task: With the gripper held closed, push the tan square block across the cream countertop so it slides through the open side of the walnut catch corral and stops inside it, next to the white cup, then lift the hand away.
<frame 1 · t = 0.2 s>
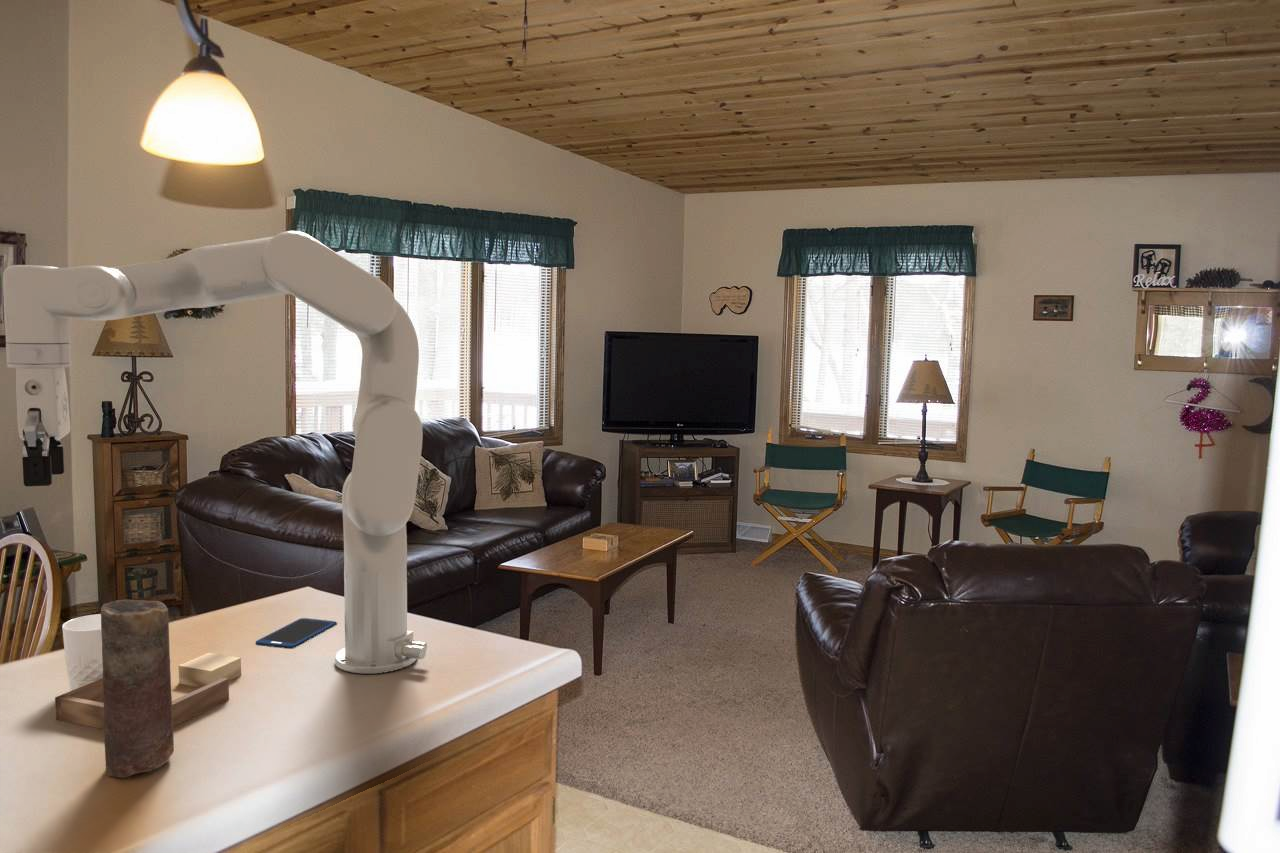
hand: (44, 479, 134), 31 cm above the kitchen counter, tool pointing down, fingers open, 9 cm apart
tan square block: (210, 681, 144), on the kitchen counter
cell phone: (297, 636, 165), on the kitchen counter
corral: (145, 708, 133), on the kitchen counter
white cup: (97, 690, 139), on the kitchen counter
candle: (140, 767, 116), on the kitchen counter
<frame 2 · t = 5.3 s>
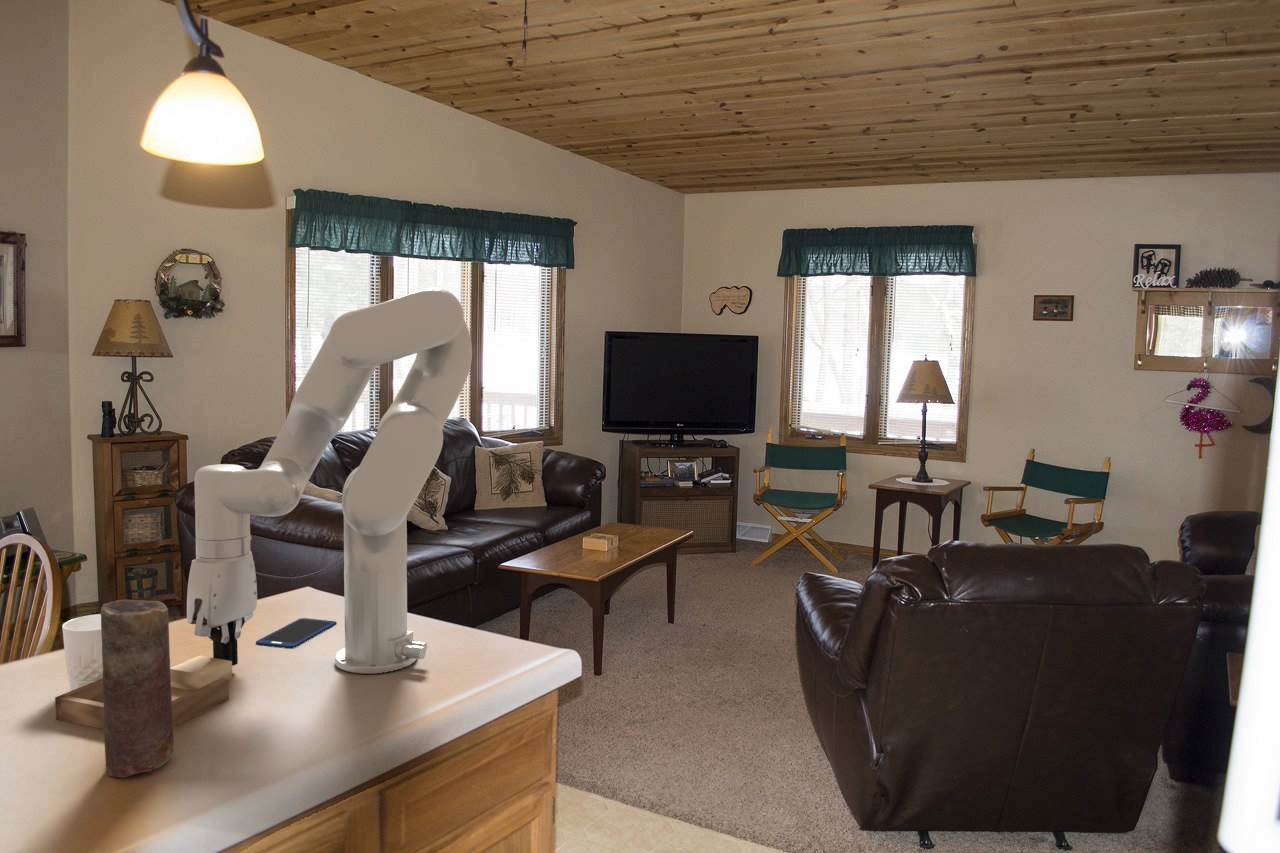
hand: (225, 664, 147), 1 cm above the kitchen counter, tool pointing down, fingers closed
tan square block: (201, 684, 143), on the kitchen counter
everything else where it was.
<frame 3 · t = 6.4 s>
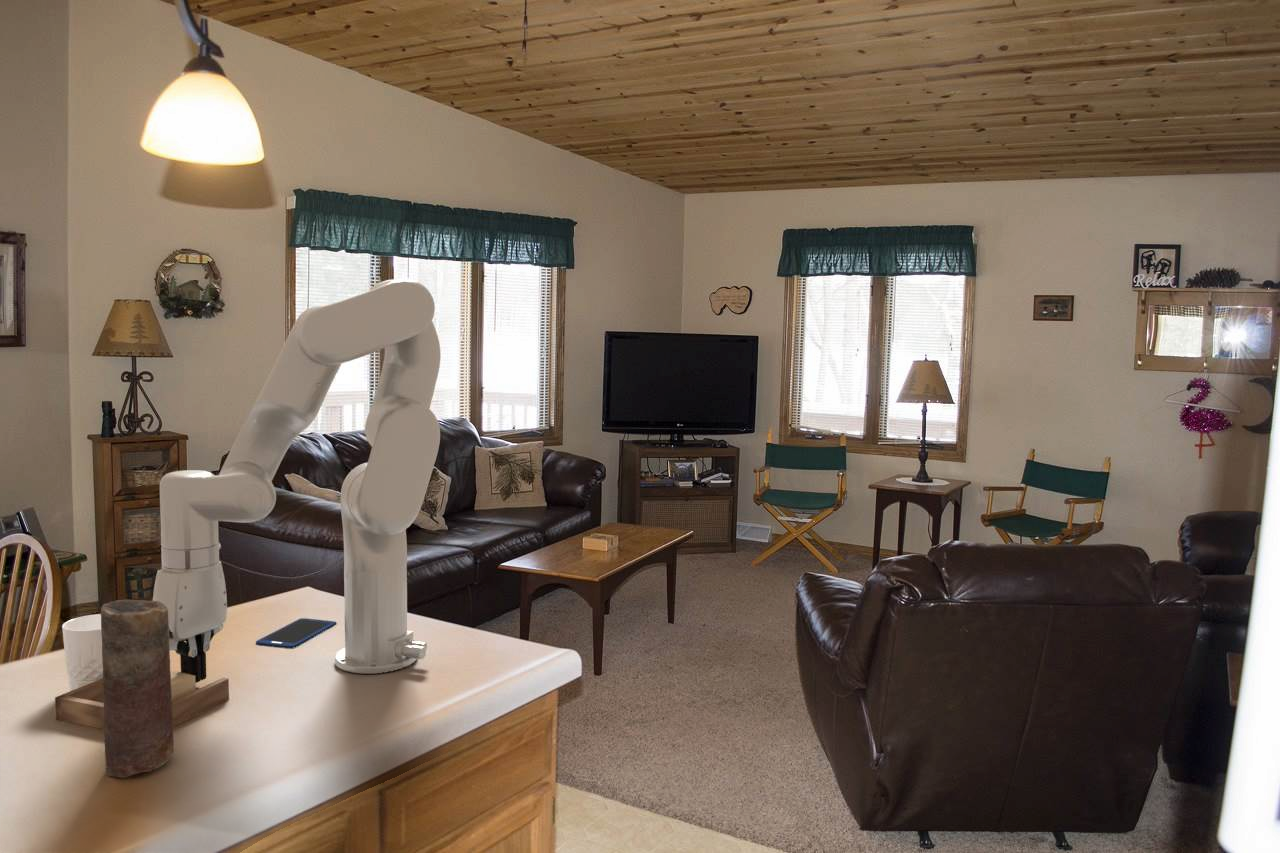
hand: (193, 679, 141), 1 cm above the kitchen counter, tool pointing down, fingers closed
tan square block: (163, 699, 137), on the kitchen counter
everything else where it was.
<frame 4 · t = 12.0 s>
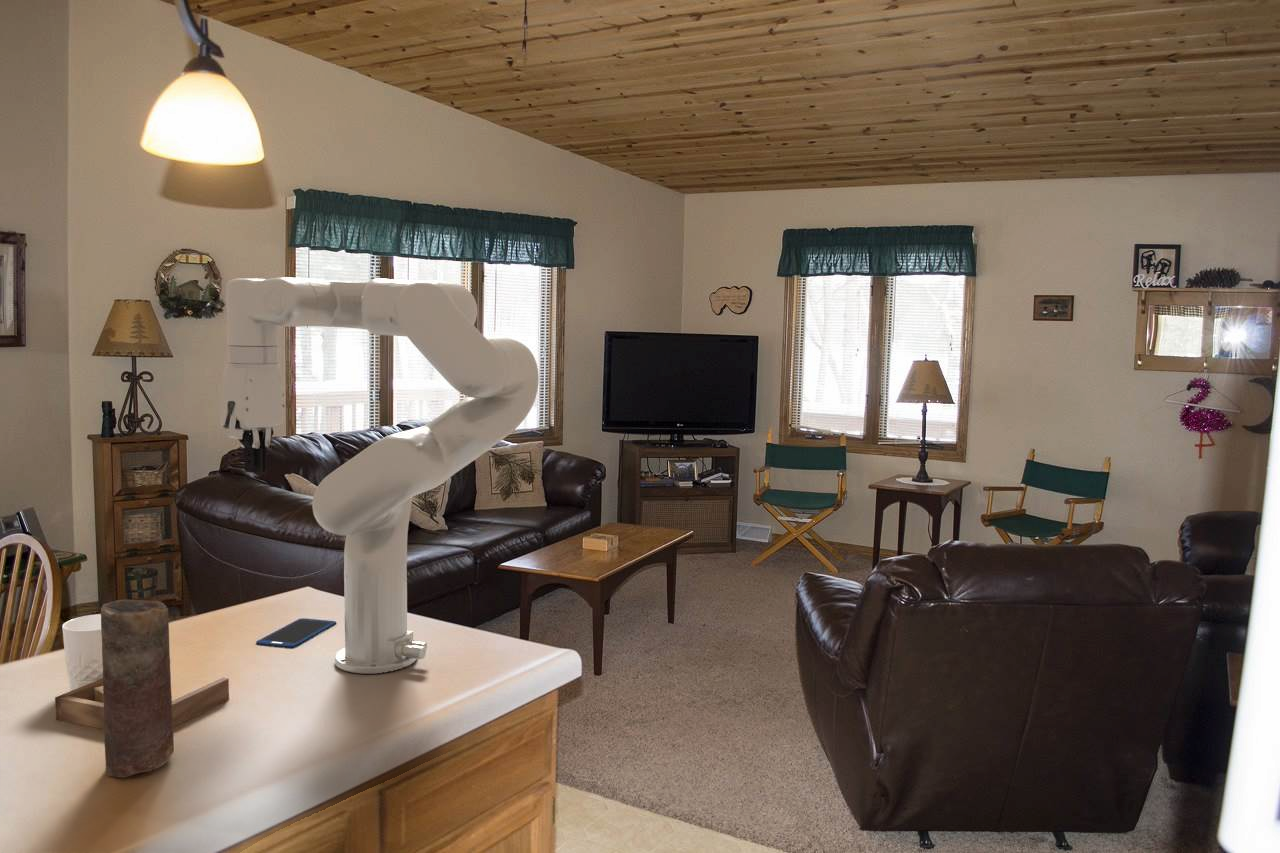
hand: (256, 471, 155), 29 cm above the kitchen counter, tool pointing down, fingers closed
tan square block: (127, 708, 133), on the kitchen counter
everything else where it was.
at the end: tan square block inside the target area on the corral (3.0 cm from its centre), point 0.0 cm above the corral's base; tan square block moved 12.6 cm from its start; tan square block touching kitchen counter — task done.
